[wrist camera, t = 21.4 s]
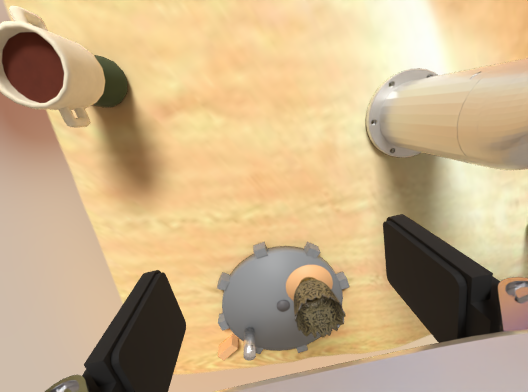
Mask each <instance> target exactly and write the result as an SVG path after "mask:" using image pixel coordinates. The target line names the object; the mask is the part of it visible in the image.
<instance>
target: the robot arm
mask: <svg viewBox="0 0 528 392" xmlns="http://www.w3.org/2000/svg"><path fill="white" fill-rule="evenodd" d="M389 84H390V86H389ZM371 121H373V123H372V124H371ZM366 127H367V132H368V135H369V137H370V140H371V141H372V143H373V144H374V146H375V147H376V148H377V149H379V150H380V151H381V152H383V153H385V154H387V155H390V156H394V157H411V156H415V155H417V154H420V153H427V154H431V155H436V156H440V157H444V158H449V159H453V160H457V161H462V162H466V163H471V164H475V165H480V166H485V167H489V168H494V169H500V170H523V169H528V58H525V59H520V60H515V61H510V62H505V63H500V64H495V65H490V66H485V67H479V68H474V69H469V70H464V71H459V72H454V73H449V74H444V75H437V74H436V73H434V72H432V71H430V70H427V69H420V68H417V69H409V70H405V71H402V72H399V73H397V74H395V75H393V76H391V77H390V78H388V79H387V80H386V81H385V82H384V83H383V84H382V85H380V87H379V88H378V89H377V91H376V92H375V93H374V95H373V97H372V99H371V101H370V104H369V106H368V110H367V115H366ZM390 149H391V150H390ZM383 230H384V244H385V258H386V272H387V278H388V281H389V283H390V284H391V286H392V287H393V288H394V289H395V290H396V292H397V293H398V294H399V295H400V296H401V298H402V299H403V300H404V301H405V302H406V304H407V305H408V306H409V307H410V308H411V310H412V311H413V312H414V313H415V315H416V316H417V317H418V318H419V319H420V321H421V322H422V323H423V324H424V325H425V327H426V328H427V329H428V330H429V331H430V333H431V334H432V335H433V336H434V338H435V339H436V340H437V341H438V342H439V343H435V344H430V345H425V346H420V347H415V348H411V349H406V350H402V351H397V352H392V353H387V354H383V355H379V356H374V357H369V358H364V359H359V360H355V361H351V362H346V363H341V364H336V365H332V366H327V367H322V368H318V369H313V370H309V371H305V372H300V373H295V374H291V375H286V376H282V377H277V378H272V379H268V380H264V381H259V382H255V383H250V384H245V385H241V386H237V387H232V388H228V389H223V390H219V391H214V392H528V278H523V277H512V278H507V279H504V280H502V281H501V282H500V281H499V280H497V279H496V278H494V277H493V276H492V275H493V273H492V272H490V271H489V270H487V269H485V268H484V267H482V266H481V265H479V264H478V263H476V262H475V261H473V260H472V259H470V258H469V257H467V256H466V255H464V254H463V253H461V252H460V251H458V250H457V249H455V248H454V247H452V246H451V245H449V244H447V243H446V242H444V241H443V240H441V239H440V238H438V237H437V236H435V235H434V234H432V233H431V232H429V231H428V230H426V229H425V228H423V227H422V226H420V225H419V224H417V223H416V222H414V221H413V220H411V219H409V218H408V217H406V216H405V215H403V214H401V215H396V216H392V217H388V218H387V221H386V222H384V223H383ZM185 330H186V322H185V319H184V317H183V314H182V312H181V310H180V307H179V305H178V303H177V300H176V298H175V296H174V293H173V291H172V289H171V286H170V284H169V281H168V279H167V277H166V275H165V273H161V272H160V271H159V270H156V271H152V272H147V273H144V274H143V275H142V276H141V278H140V279H139V281H138V282H137V284H136V286H135V287H134V289H133V290H132V292H131V293H130V295H129V296H128V298H127V299H126V301H125V302H124V304H123V305H122V307H121V309H120V310H119V312H118V313H117V315H116V316H115V318H114V319H113V321H112V322H111V324H110V325H109V327H108V328H107V330H106V331H105V333H104V335H103V336H102V338H101V339H100V341H99V342H98V344H97V345H96V347H95V348H94V350H93V351H92V353H91V355H90V356H89V358H88V359H87V361H86V362H85V364H84V366H85V368H86V370H85V372H84V374H83V375H82V376H81V375H72V376H69V377H67V378H64V379H62V380H60V381H59V382H57V383H55V384H54V385H53V386H51V387H50V388H49V389H47V390H46V391H45V392H168V389H169V386H170V382H171V379H172V375H173V372H174V368H175V365H176V362H177V358H178V355H179V351H180V348H181V344H182V341H183V337H184V334H185Z"/></svg>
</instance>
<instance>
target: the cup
mask: <svg viewBox="0 0 528 392" xmlns="http://www.w3.org/2000/svg"><path fill="white" fill-rule="evenodd" d="M294 314H295V321H296V323H297V328H298V330H299V331H300V330H301V332H302V333H303V334H304V335H305V336H306V337H307V336H309V335H310V334H312V336H313V337H314V338H316V337H317V334H319V335H320V336H321V337H325V336H326V334H328V335H329V336H330V334H331V331H332V328H333V329H334V330H336V331H337V330H338V327H337V325H342V324H344V317H345V312H344V311H343V309H342V305H341V303H340V302H339V300H338V299H337V297H336V296H335V294H334V293H333V291H332V290H331V289H330V288H329V286H328V285H326V284H325V283H324V282H322V281H320V280H317V279H315V278H313V277H305V278H303V279H302V280H301V281H300V283H299V286H298V287H297V289H296V291H295V294H294ZM317 332H318V333H317Z"/></svg>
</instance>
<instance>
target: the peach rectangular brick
mask: <svg viewBox="0 0 528 392" xmlns="http://www.w3.org/2000/svg"><path fill="white" fill-rule="evenodd" d="M237 349H238V337H236V336H235V335H233V334H232V335H231V336H229V337H228V338H227V339H226V340H225V341H224V342H223V343H221V344H220V345H219V350H218V357H219V358H221V359H222V360H225V359H226V358H227V357H229V356H230V355H231V354H232V353H233V352H235V351H236V350H237Z"/></svg>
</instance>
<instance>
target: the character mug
mask: <svg viewBox="0 0 528 392" xmlns="http://www.w3.org/2000/svg"><path fill="white" fill-rule="evenodd" d="M9 10H10V14H11V16H12V18H13V20H14V21H8V22H2V23H0V92H1V93H2V94H3V95H4V96H6V97H7V98H9V99H11V100H12V101H14V102H15V103H17V104H20V105H23V106H26V107H30V108H33V109H52V110H59V111H60V113H61V115H62V117H63V119H64V121H65V123H66V124H67V125H68V126H70V127H74V128H75V127H87V126H88V125H89V124H90V119H89V117H88V115H87V113H86V111H85V108H87V107H89V106H91V105H95V106H100V107H114V106H115V105H117V104H119V103H121V102H122V100H123V99H124V97H125V95H126V94H127V83H128V82H127V80H126V77H125V75H124V72H123V71H122V70H121V69H120V68H119V67H118V66H117V64H116V63H115V62H113V61H111V60H109V59H106V58H104V57H101V56H96V55H93V54H91V53H90V52H89V51H88V50H86V49H85V48H84V47H83V46H81V45H80V44H78V43H76V42H74V41H71V40H69V39H66V38H64V37H61V36H59V35H56V34H54V33H51V32H49V31H48V30H47V28H46V26H45V23H44V22H43V20H42V19H41V18H40V17H39V16H38V15H36V14H34V13H32V12H30V11H27V10H25V9H23V8H21V7H17V6H10V8H9ZM29 23H31V24H32V25H31V24H29ZM71 110H75V112H76V115H77V117H78V118H75V117H74V115H73V113H72V111H71Z"/></svg>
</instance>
